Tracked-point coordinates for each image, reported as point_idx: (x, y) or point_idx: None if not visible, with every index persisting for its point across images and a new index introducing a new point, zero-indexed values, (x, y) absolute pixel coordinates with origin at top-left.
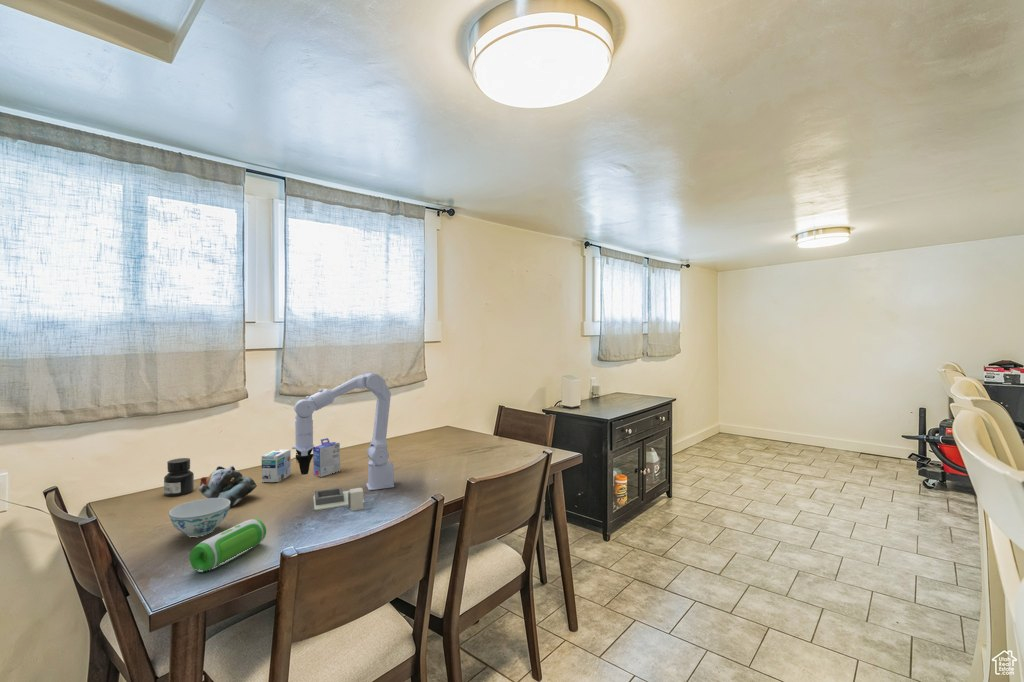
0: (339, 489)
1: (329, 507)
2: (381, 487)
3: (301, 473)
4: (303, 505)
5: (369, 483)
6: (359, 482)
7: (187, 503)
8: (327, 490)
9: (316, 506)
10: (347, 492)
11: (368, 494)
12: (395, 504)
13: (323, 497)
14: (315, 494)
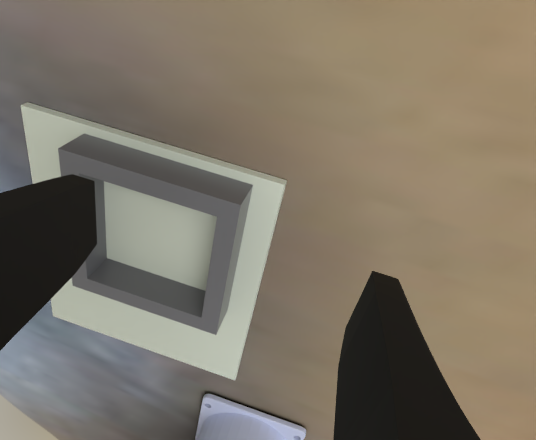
0: (189, 315)
1: (35, 182)
2: (200, 430)
3: (54, 181)
4: (151, 72)
5: (230, 430)
6: None
7: None
8: (210, 266)
9: (63, 130)
10: (219, 330)
11: (162, 368)
12: (10, 363)
13: (208, 218)
14: (163, 183)
